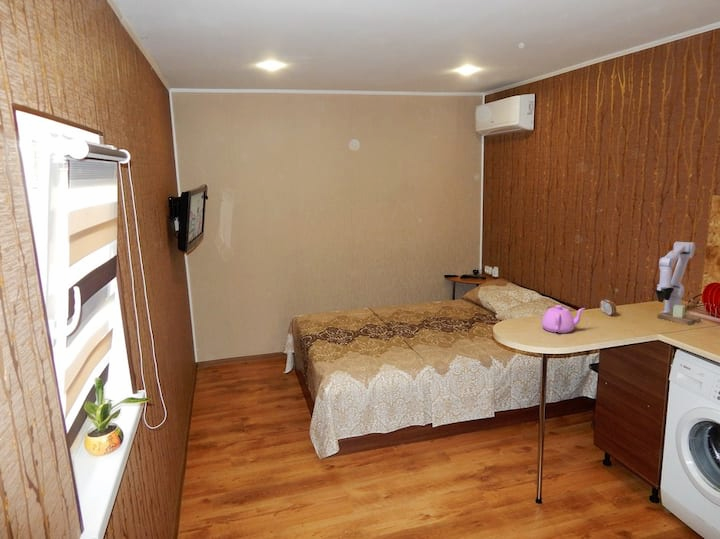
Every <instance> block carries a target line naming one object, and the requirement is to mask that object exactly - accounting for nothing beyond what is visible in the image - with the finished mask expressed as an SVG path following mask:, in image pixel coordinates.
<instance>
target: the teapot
mask: <svg viewBox="0 0 720 539" xmlns="http://www.w3.org/2000/svg"><path fill="white" fill-rule="evenodd" d="M584 310H586V308H585V307H582V308H579V309H578V310H577V312H576V316H575V317H574V316H573V314H572V312H571V311H570V310H569V309H568V308H565V307H563V305H561V304H557V305H555V306H554V307H553V306H552V307H549V308H548V309H546V312H545V313H544V314H543V316H542V318H541V323H540V325H541V326H542V328H544V330H545V331H548V332H550V333H556V332H558V334H561V333H562V334H565V333H571V332H572V331H573V330H574V329H575V328H576V326H577V325H578V324H579V323H580V321H581V315H582V312H583V311H584Z"/></svg>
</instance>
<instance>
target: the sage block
mask: <svg viewBox="0 0 720 539" xmlns="http://www.w3.org/2000/svg"><path fill="white" fill-rule="evenodd" d="M685 313H686V305H683V304H682V305H674V306H673V316H674V317H680V318H682V317H684V316H685V315H686V314H685Z"/></svg>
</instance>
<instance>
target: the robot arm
mask: <svg viewBox="0 0 720 539" xmlns="http://www.w3.org/2000/svg"><path fill="white" fill-rule="evenodd" d="M695 251H696V244H695V242H694V241H693V242H690V241H689V242H687V241H675V242H674V243H673V249H672V250H670V251H668V252H667V254H665V256H664V257H663V256H662V257H661V258H659V262H658V266H659V267H658V268H659V271H660V272H659V281H658V284H656V286H657V288H656V289H655V290H654V292H655V293H656V296H657V301H658V302H659V303H664V310H662V311H660V312H661V313H666V312H673V306H674V305H683V304H682V303H683V300H682V298H683V296H684V293H685V287H684V285H683V284H682V280H683V277H684V274H685V272H686V268H687V265H688V263H689V260H690V259H691V258H693V257H694V254H695ZM676 261H677V263H676ZM675 264H676V266H675ZM674 267H675V268H674ZM673 268H674V271H673Z"/></svg>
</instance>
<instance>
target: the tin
mask: <svg viewBox="0 0 720 539" xmlns="http://www.w3.org/2000/svg"><path fill="white" fill-rule="evenodd" d="M600 310H601V312H602V313H604V314H605V315H607V316H610V317H615V316H616V314H617V306H616V304H615V302H614V301H611V300H609V299H607V298H605V299H601V300H600Z"/></svg>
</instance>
